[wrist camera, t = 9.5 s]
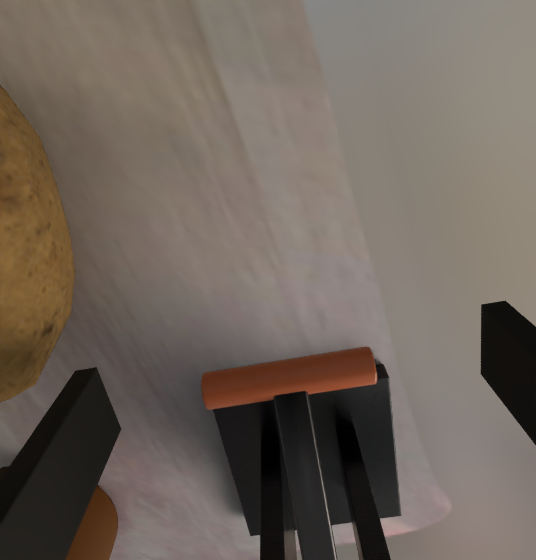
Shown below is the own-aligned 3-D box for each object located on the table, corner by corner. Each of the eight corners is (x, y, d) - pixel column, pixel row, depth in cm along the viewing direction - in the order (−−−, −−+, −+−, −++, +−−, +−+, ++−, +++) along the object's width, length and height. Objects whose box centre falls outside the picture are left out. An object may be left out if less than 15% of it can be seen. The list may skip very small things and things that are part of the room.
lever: (209, 363, 15) (194, 384, 13) (363, 338, 15) (377, 355, 13) (272, 703, 16) (269, 781, 14) (421, 686, 16) (444, 764, 13)
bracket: (213, 389, 23) (163, 698, 11) (383, 363, 23) (513, 659, 11) (250, 518, 27) (241, 845, 15) (395, 498, 27) (500, 822, 15)
